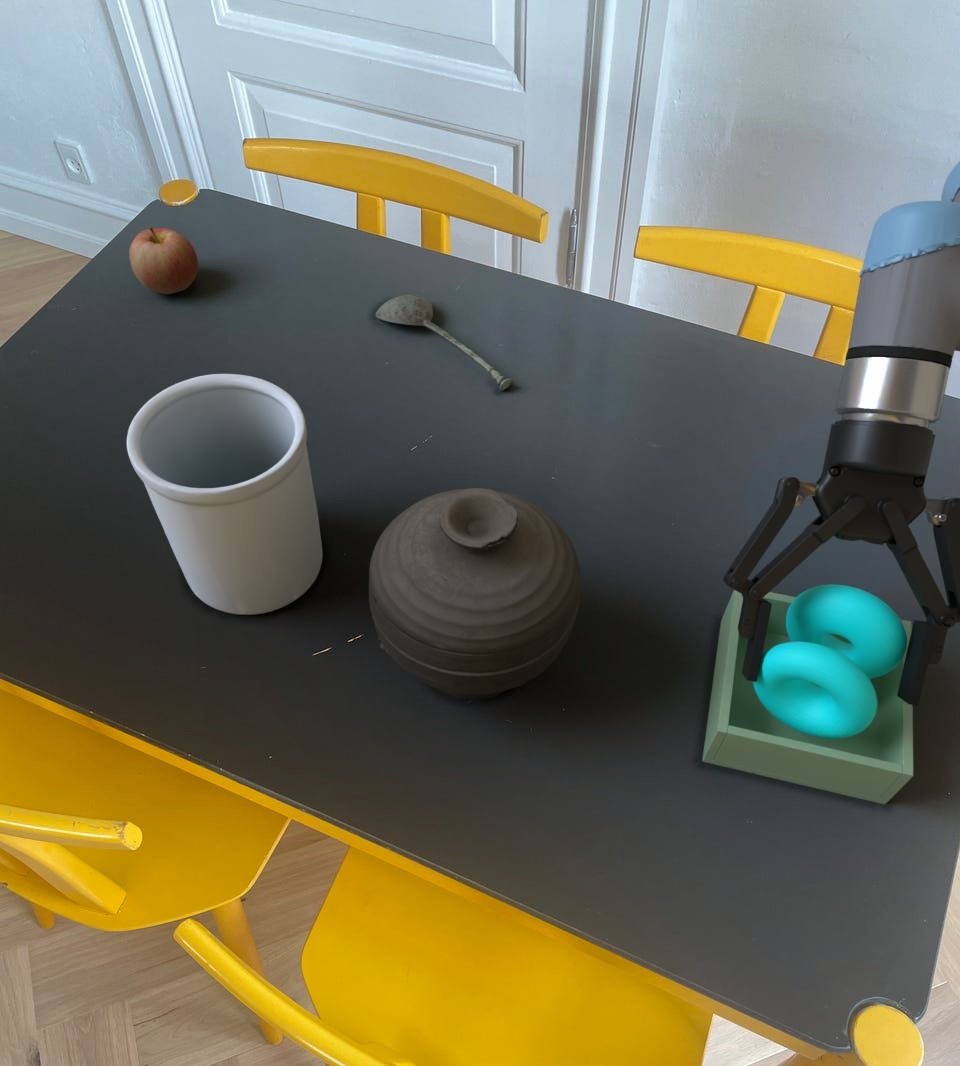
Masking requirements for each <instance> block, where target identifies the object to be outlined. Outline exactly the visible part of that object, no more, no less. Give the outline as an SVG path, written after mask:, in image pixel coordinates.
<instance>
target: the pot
mask: <svg viewBox="0 0 960 1066" xmlns="http://www.w3.org/2000/svg"><path fill="white" fill-rule="evenodd" d="M368 571H369V572H368V573H369V574H368V575H369V577H368V594H369V595H368V602H369V609H370V613H371V617H372V621H373V625H374V628H375V631H376V633H377V636H378V637H377V640H378V641H379V646H380V648H381V649H382V651H384V652H385V653H386V654H387V655H388V656H389V657H390V658H391V659H392V660H393V661H394V663H395V664H396V665H397V666H399V667H400V668H401V669H403V670H404V672H406V673H408V674H409V675H410V676H412V677H414V679H416V680H418V681H419V682H421V683H423V684H424V685H426V686H430V687H433V688H436V689H438V690H439V691H442V692H443V693H444V694H446V695H448V696H451V697H453V698H456V699H462V700H473V701H474V700H475V701H476V700H486V699H492V698H495V697H497V696H499V695H501V694H502V693H503V692H506V691H508V690H512V689H514V688H519V687H521V686H523V685H525V684H527V683H528V682H529V681H531V680H533V679H535V678H536V677H538V676H540V675H542V674H543V673H544V672H545V671H546V670H547V669H548V668H549V667H550V666H551V665H552V664H553V663H554V661H555V660H556V659H557V658H558V656H559V655H560V654H561V651H562V650H563V649H564V648H565V645H566V644H567V642H568V640H569V638H570V637H571V634H572V631H573V628H574V625H575V621H576V619H577V617H578V613H579V610H580V604H581V603H580V602H581V584H580V582H581V581H580V580H581V570H580V563H579V558H578V554H577V551H576V549H575V547H574V544H573V542H572V541H571V539H570V537H569V536H568V533H566V531H565V530H564V528H563V527H562V526H561V525H560V523H558V522H557V520H556V519H555V518H554V517H553V516H552V515H551V514H549V513H548V512H547V511H546V510H545V509H543V507H541V506H539V505H537V504H536V503H534V502H532V501H531V500H528V499H526V498H524V497H522V496H519V495H516V494H513V493H509V492H506V491H503V490H502V491H501V490H496V489H491V488H486V487H485V488H483V487H470V488H459V489H452V490H447V491H441V492H439V493H435V494H432V495H429V496H427V497H424V498H422V499H420V500H419V501H416V502H415V503H413V504H412V505H410V506H409V507H407V508H406V509H405V510H403V511H402V512H401V513H399V514H398V515H396V517H395V518H394V519H393V520H392V521H390V523H389V524H388V525H387V526H386V527H385V529H384V530H383V531H382V533H381V535H380V536H379V538H378V539H377V542H376V544H375V546H374V549H373V551H372V554H371V557H370V561H369V570H368Z"/></svg>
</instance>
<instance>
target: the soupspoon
mask: <svg viewBox="0 0 960 1066" xmlns="http://www.w3.org/2000/svg"><path fill="white" fill-rule="evenodd" d="M433 315H434V309H433V304H432V303H431V302H430V300H428V299H427V298H425V297H423V296H419V295H417V294H403V295H399V296H398V295H397V296H395V297H393V298H391V299H388V300H387V301H386V302H384V303H383V304H382V305H381V306H379V308H378V309H377V310H376V312H375V318H377V319H379V320H380V321H381V320H382V321H383V322H387V323H393V324H398V325H407V326H417V327H418V326H419V327H425V328H427V329H429V330H431V331H432V332H434V333H435V334H438V335H439V336H440V337H442V338H444V339H445V340H446V341H448V342H449V343H451V344H452V345H454V346H455V347H456V348H458V349H459V350H460V351H462V352H464V354H466V355H467V356H469V357H470V358H471V359H473V360H474V361H475V362H476V363H478V364H479V365H480V366H482V367H483V368H485V369H486V372H487V374H491V377H492V379H493V380H495V382H496V383H497V385H499V391H505V390H507V389H508V387H510V385H511V384H512V378H507V377H506V376H505V375H502V374H501V373H500V372H499V371H497V370H495V367H494V366H491V365H490V364H489V363H488V362H486V360H484V359H483V358H482V357H481V356H479V355H478V354H477V353H476V352H474V351H473V350H471V349H470V348H468V347H467V346H466V345H465V344H464V343H462V342H461V341H459V340H458V339H457V338H455V337H454V336H452V335H451V334H450V333H448V332H447V331H446V330H444V329H442V328H441V327H440V326H438V325H437V324H435V323H433V322H432V319H433Z"/></svg>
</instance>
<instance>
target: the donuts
mask: <svg viewBox="0 0 960 1066" xmlns="http://www.w3.org/2000/svg"><path fill="white" fill-rule="evenodd" d="M795 597H796V598H795V599H794V600H793V602H792V603H791V605H790V607H789V609H788V611H787V615H786V629H787V633H788V636H789V638H790V641H791V642H787V643H782V644H779V645H776V646H774V647H772V648H770V649H768V650H767V651H765V652H764V653H763V654H762V658H761V663H760V668H759V673H758V678H757V682H754V681H753V685H754V689H755V692H756V694H757V696H758V698H759V700H760V701H761V703H762V704H763V705H764V706H765V708H766V709H767V710H768V711H769V712H770V713H771V714H772V715H773V716H775V717H776V718H777V719H778V720H780V721H781V722H783V723H784V724H786V725H787V726H789V727H791V728H793V729H795V730H797V731H800V732H802V733H805V734H808V735H811V736H815V737H819V738H827V739H840V738H847V737H851V736H854V735H856V734H858V733H860V732H862V731H863V730H865V729H866V728H867V727H868V726H869V725H870V723H871V722H872V720H873V718H874V717H875V714H876V710H877V697H876V692H875V689H874V687H873V685H872V683H871V681H870V679H872V678H876V677H879V676H882V675H885V674H887V673H888V672H890V671H891V670H893V669H894V668H895V667H896V666H897V665H898V664H899V663H900V662H901V660H902V659H903V657H904V655H905V652H906V648H907V635H906V631H905V628H904V625H903V623H902V621H901V620H900V619H901V618H900V617H899V615H898V614H897V613H896V611H895V610H893V608H892V607H891V606H890V605H888V603H886V601H884V600H882V599H881V598H879V597H878V596H876V595H874V594H873V593H870V592H868V591H866V590H864V589H861V588H858V587H856V586H855V587H854V586H851V585H845V584H837V583H836V584H835V583H831V584H830V583H829V584H828V583H827V584H820V585H816V586H812V587H810V588H808V589H806V590H804V591H802V592H801V593H800V594H798V595H797V596H795ZM831 634H837V635H840V636H842V637H844V638H846V639H848V640H849V641H850V642H851V643H852V644H850V643H846V642H843V641H841V640H839V639H837V638H835V637H834V636H832V635H831ZM812 683H813V684H812ZM814 684H815V685H817V686H815V685H814ZM818 686H819V687H818ZM820 687H821V688H820Z"/></svg>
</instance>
